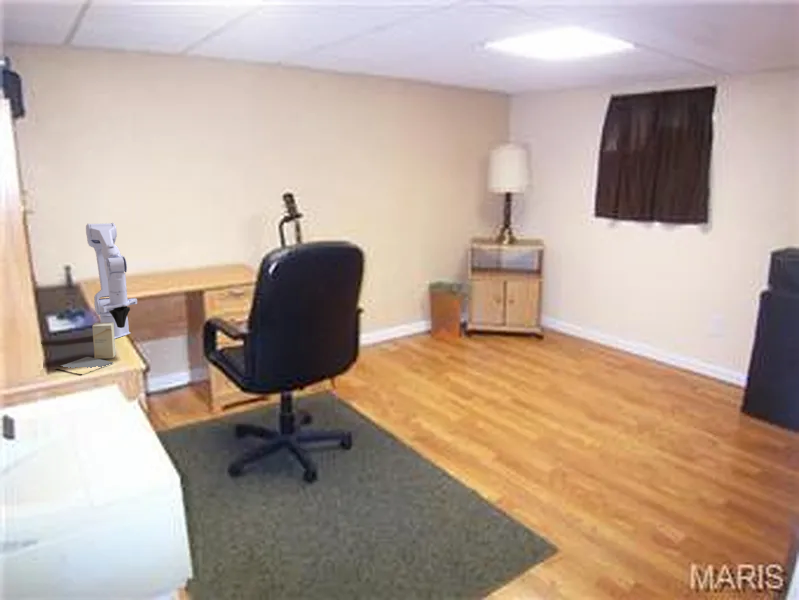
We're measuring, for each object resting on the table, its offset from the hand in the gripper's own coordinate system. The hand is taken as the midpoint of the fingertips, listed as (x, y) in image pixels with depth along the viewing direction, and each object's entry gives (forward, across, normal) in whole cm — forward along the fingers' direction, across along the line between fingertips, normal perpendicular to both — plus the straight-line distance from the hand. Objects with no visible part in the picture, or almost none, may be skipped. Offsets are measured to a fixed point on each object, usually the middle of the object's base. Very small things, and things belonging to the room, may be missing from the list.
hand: (120, 327), depth 207 cm
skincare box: (+9, -8, 0) cm, 12 cm away
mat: (+9, -18, -2) cm, 20 cm away
